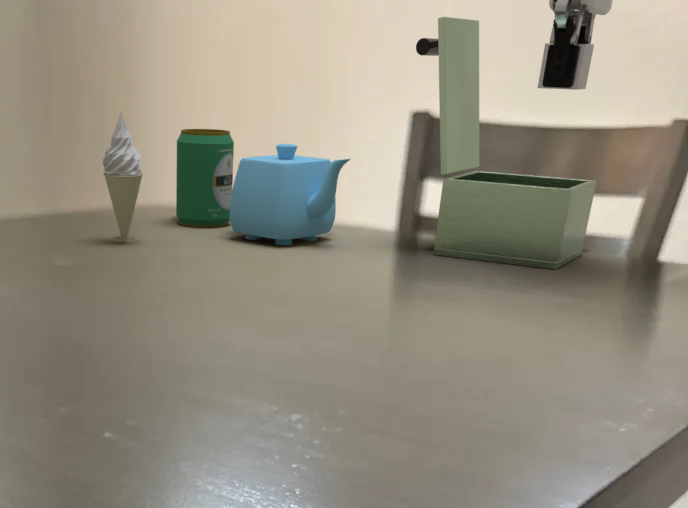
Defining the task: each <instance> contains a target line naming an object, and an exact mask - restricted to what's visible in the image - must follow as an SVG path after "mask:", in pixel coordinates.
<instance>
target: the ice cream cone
mask: <svg viewBox="0 0 688 508" xmlns="http://www.w3.org/2000/svg"><path fill="white" fill-rule="evenodd" d="M113 131H114V132H113V133H112V134H111V140H110V141H111V143H110V147H108V148H107V150H105V151H104V157H102V158H103V159H102V165H103V167H104V168H103V171H104V172H103V174H102V175H103V176H104V180H105V182H106V186H107V187H106V188H107V189H108V193H109V198H110V200H111V205H112V208H113V212H114V216H115V220H116V223H117V226H118V231H119V234H120V238H121V242H122V243H123V244H127V242H128V238H129V233H130V230H131V226H132V221H133V217H134V212H135V208H136V203H137V199H138V195H139V191H140V186H141V182H142V178H143V176H144V174H143V173H142V165H143V161H142V157H141V155H140V151H138V149H136V147H135V146H134V141H133V136H132V134H131V131H130V130H129V127H128V124H127V122H126V120H125V118H124V114H123V112H122V111H120V115H119V118H118V121H117V124H116V126H115V129H114V130H113Z"/></svg>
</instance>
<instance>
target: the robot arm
mask: <svg viewBox="0 0 688 508" xmlns="http://www.w3.org/2000/svg"><path fill="white" fill-rule="evenodd" d="M548 5H549V8H550V10H551V11H552V12H553V15H554V19H553V24H552V29H551V33H550V37H549V43H550V46H549V48H548V54H547V60H546V65H545V71H544V77H543V82H542V85H543V86H544V87H555V88H570V87H571V86H572V83H573V77H574V72H575V67H576V62H577V56H578V51H579V46H576V44H592V39H593V31H594V25H595V19H596V16H597V15H598V16H606V15H607V14H608V13H609V12H610V11H611V9H612V6H613V0H548Z"/></svg>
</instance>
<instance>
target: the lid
mask: <svg viewBox="0 0 688 508" xmlns="http://www.w3.org/2000/svg"><path fill="white" fill-rule="evenodd" d="M415 51H416V53H417V54H418V55H419V56H429V57H430V56H431V57H433V56H435V57H437V56H438V93H439V94H438V95H439V96H438V97H439V99H438V101H439V151H440V152H439V153H440V155H439V156H440V175H441V176H444V175H445V176H446V175H450V174H454V173H458V172H462V171H467V170H471V169H475V168H480V20H476V19H467V18H460V17H459V18H458V17H451V16H441V17H438V18H437V38H431V37H430V38H429V37H422V38H420V39H418V41H417V42H416V45H415Z"/></svg>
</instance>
